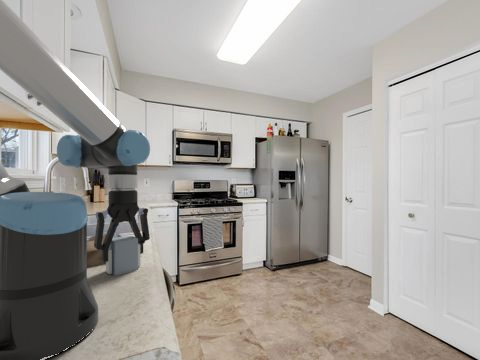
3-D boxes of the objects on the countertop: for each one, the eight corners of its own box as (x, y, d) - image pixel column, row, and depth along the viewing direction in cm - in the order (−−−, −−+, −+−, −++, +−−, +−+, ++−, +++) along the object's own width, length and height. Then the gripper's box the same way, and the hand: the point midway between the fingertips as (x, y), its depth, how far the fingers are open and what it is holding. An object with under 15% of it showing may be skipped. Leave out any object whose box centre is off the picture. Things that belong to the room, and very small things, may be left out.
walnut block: (86, 268, 68) (86, 251, 68) (77, 257, 78) (77, 243, 78) (134, 257, 78) (134, 243, 78) (121, 249, 88) (121, 236, 88)
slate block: (115, 275, 62) (115, 242, 62) (108, 269, 66) (108, 238, 66) (138, 269, 66) (137, 238, 66) (130, 264, 70) (130, 235, 70)
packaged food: (114, 246, 91) (114, 234, 91) (82, 248, 89) (82, 235, 89) (122, 241, 99) (122, 230, 99) (93, 242, 98) (93, 231, 98)
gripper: (151, 188, 76) (151, 257, 76) (79, 190, 62) (79, 275, 61) (161, 188, 71) (162, 262, 70) (85, 191, 56) (86, 283, 56)
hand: (123, 268), depth 66 cm, fingers open, 7 cm apart
